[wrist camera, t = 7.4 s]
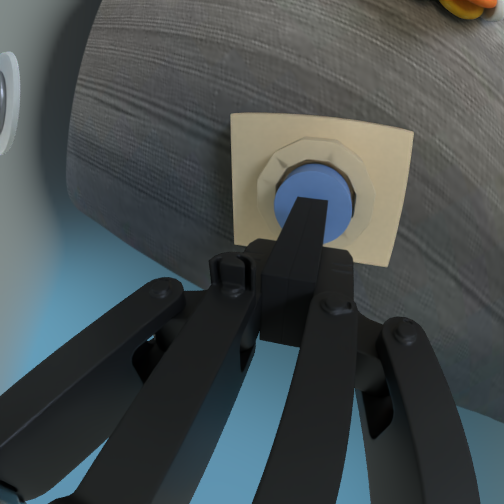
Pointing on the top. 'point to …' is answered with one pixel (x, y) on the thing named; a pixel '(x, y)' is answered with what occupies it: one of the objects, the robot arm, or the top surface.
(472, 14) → the rainbow petal toy
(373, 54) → the top surface
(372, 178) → the button housing
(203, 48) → the top surface
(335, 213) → the blue button
